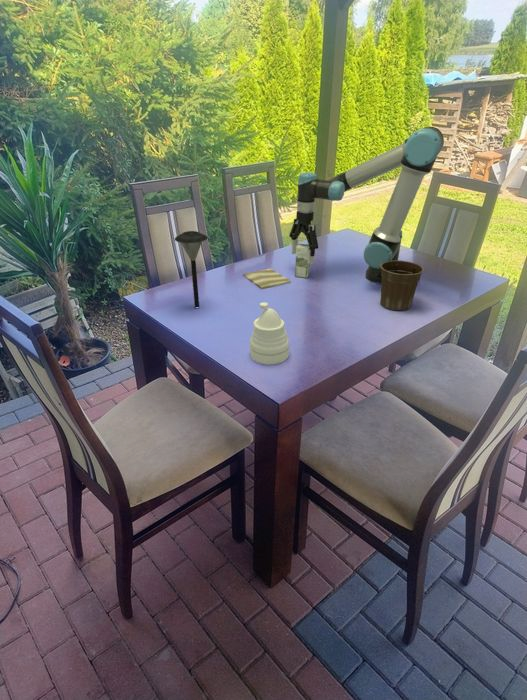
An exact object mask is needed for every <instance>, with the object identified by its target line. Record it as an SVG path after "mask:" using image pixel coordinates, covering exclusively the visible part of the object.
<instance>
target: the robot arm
mask: <svg viewBox="0 0 527 700" xmlns="http://www.w3.org/2000/svg"><path fill="white" fill-rule="evenodd" d="M444 143H445V137H444V135H443V133H442V131H441V130H440V129H439V128H438V127H435V126H424V127H422V128H420V129H418V130H417V129H416V131H414V132H413V133H412V134H411V135H409V137H408V138H405V139H404V140H403V143H402V144H400V145H397V146H395V147H394V148H391V149H388V150H387V151H386V152H384V153H383V152H382V153H381V154H379V155H377V156H375V157H373V158H371V159H368V160H367V161H364V162H362V163H360V164H358V165H356V166H354V167H352V168H350V169H348V170H346V171H344V172H342V173H340V174H337V175H335V176H334V177H332V178H330V179H328V180H327V179H319V178H318V176H317V173H314V172H301V173H300V174H298V181H297V182H298V183H297V202H296V210H297V211H296V217H295V218H293V223H292V227H291V230H290V232H289V238H291V255H296V247H297V245H298V244H299V237H300V235H301V233H303V234H304V236H305V237H306V238H305V239H306V241H307V244H308V245H309V247H310V248H309V250H308V263H310V264H314V259H315V253H316V250H317V249H319V242H318V237H317V232H316V225H314V224H313V225H312V222H313V221H314V218H315V217H314V216H315V215H314V214H315V202H316V199H321V200H326V201H327V200H328V201H332V202H335V201H336V202H337V201H339V202H340V201H341V200H342V199H343V198H344V195H345V193H346V192H347V191H349V190H352V189H354V188H355V187H358V186H361V185H362V184H365V183H367V182H369V181H372V180H373V179H376V178H378V177H380V176H382V175H385V174H387V173H389V172H392V171H394V170H396V169H398V168H400V167H401V171H400V173H399V176H398V179H397V181H396V184H395V185H394V188H393V191H392V194H391V196H390V199H389V201H388V204H387V206H386V208H385V211H384V214H383V216H382V219H381V220H380V221H381V222H380V224H379V226H378V227H376V228H375V229H374V230H373V231H372V234H371V236H370V239H369V242H368V244H367V245H366V246H365V248H364V250H363V260H364V261H365V263H366V264H367V265H368V267H367V269H366V271H365V278H366V279H367V280H368V281H370V282H373V283H377V284H382V276H381V264H382V263H384V262H387V261H395V260H398V261H399V258H400V250H401V243H402V238H403V230H402V229H403V226H404V224H405V222H406V220H407V217H408V215H409V212H410V210H411V207H412V205H413V203H414V202H415V198H416V196H417V194H418V191H419V189H420V186H421V184H422V181H423V180H424V177H425V176H426V175H429V174H430V173H431V171H432V169H433V167H434V164H435V162H436V160H437V157H438V155H439V154H440V153H441V151H442V150H443V148H444Z"/></svg>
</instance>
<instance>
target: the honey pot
mask: <svg viewBox="0 0 527 700" xmlns="http://www.w3.org/2000/svg"><path fill="white" fill-rule="evenodd" d="M259 306H260V309H261V310H262V313H261V314H260V316H259V317H258V318H255V320H254V321H253V323H252V325H253V327H254V328H253V330H252V334H251V337H250V339H249V355H250V358H251V359H252V360H253V361H254V362H256V363H258V364H262V365H269V366H270V365H271V366H272V365H278V364H280V363H283V362H285V361H286V360H287V359H288V357H289V356H290V355H289V353H290V339H289V338H288V337H289V336H288V334H287V330H286V329H285V321H284V320H283V319H281V317H280V315H279V314H278V312H277V311H276V310H275V309H273V308H271V307H270V308H269V303H268V302H264V301H263V302H260V303H259Z"/></svg>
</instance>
